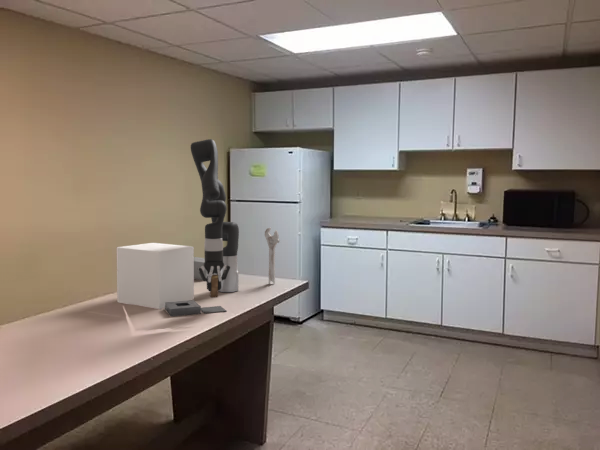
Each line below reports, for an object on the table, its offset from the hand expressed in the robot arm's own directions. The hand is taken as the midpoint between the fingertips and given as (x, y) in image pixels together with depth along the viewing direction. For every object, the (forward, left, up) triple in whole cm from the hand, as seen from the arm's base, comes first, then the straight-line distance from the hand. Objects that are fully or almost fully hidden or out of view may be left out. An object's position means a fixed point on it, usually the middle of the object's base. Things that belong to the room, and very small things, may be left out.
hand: (214, 290), depth 216 cm
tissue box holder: (-15, -75, -9) cm, 77 cm away
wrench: (-40, -38, -9) cm, 56 cm away
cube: (+19, -26, -9) cm, 34 cm away
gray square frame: (+13, -2, -8) cm, 15 cm away
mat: (+1, 0, -8) cm, 8 cm away
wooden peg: (0, 0, -3) cm, 3 cm away
